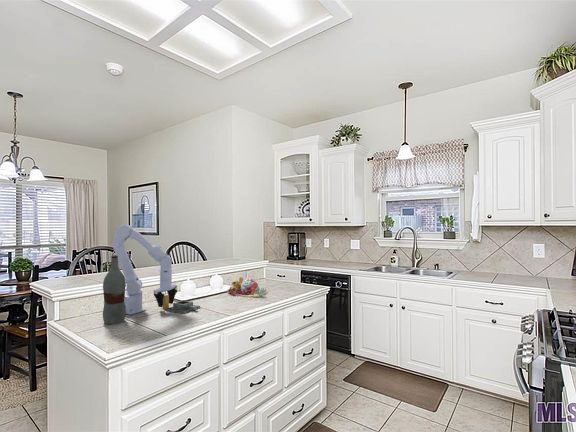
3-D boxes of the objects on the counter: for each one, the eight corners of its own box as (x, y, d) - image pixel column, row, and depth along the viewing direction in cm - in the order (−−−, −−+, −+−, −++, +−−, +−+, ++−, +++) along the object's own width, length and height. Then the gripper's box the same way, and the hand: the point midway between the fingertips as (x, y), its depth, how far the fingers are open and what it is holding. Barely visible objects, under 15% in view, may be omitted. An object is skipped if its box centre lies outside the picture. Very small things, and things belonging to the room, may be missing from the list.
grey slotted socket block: (187, 314, 161) (187, 307, 162) (165, 310, 167) (165, 304, 167) (203, 308, 172) (203, 301, 172) (182, 305, 178) (182, 298, 178)
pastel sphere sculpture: (221, 295, 202) (221, 280, 202) (238, 288, 224) (238, 274, 224) (259, 298, 195) (259, 282, 195) (272, 290, 217) (272, 276, 217)
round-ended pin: (165, 309, 169) (165, 296, 169) (161, 309, 170) (161, 295, 171) (170, 308, 172) (170, 295, 172) (165, 307, 173) (165, 294, 173)
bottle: (100, 325, 144) (100, 257, 144) (105, 319, 153) (105, 255, 153) (123, 324, 146) (123, 256, 147) (127, 318, 155) (127, 254, 156)
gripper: (160, 282, 163) (160, 309, 163) (181, 277, 176) (181, 302, 176) (150, 280, 166) (150, 307, 166) (171, 276, 179) (171, 301, 179)
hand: (165, 305), depth 171 cm, fingers open, 7 cm apart
